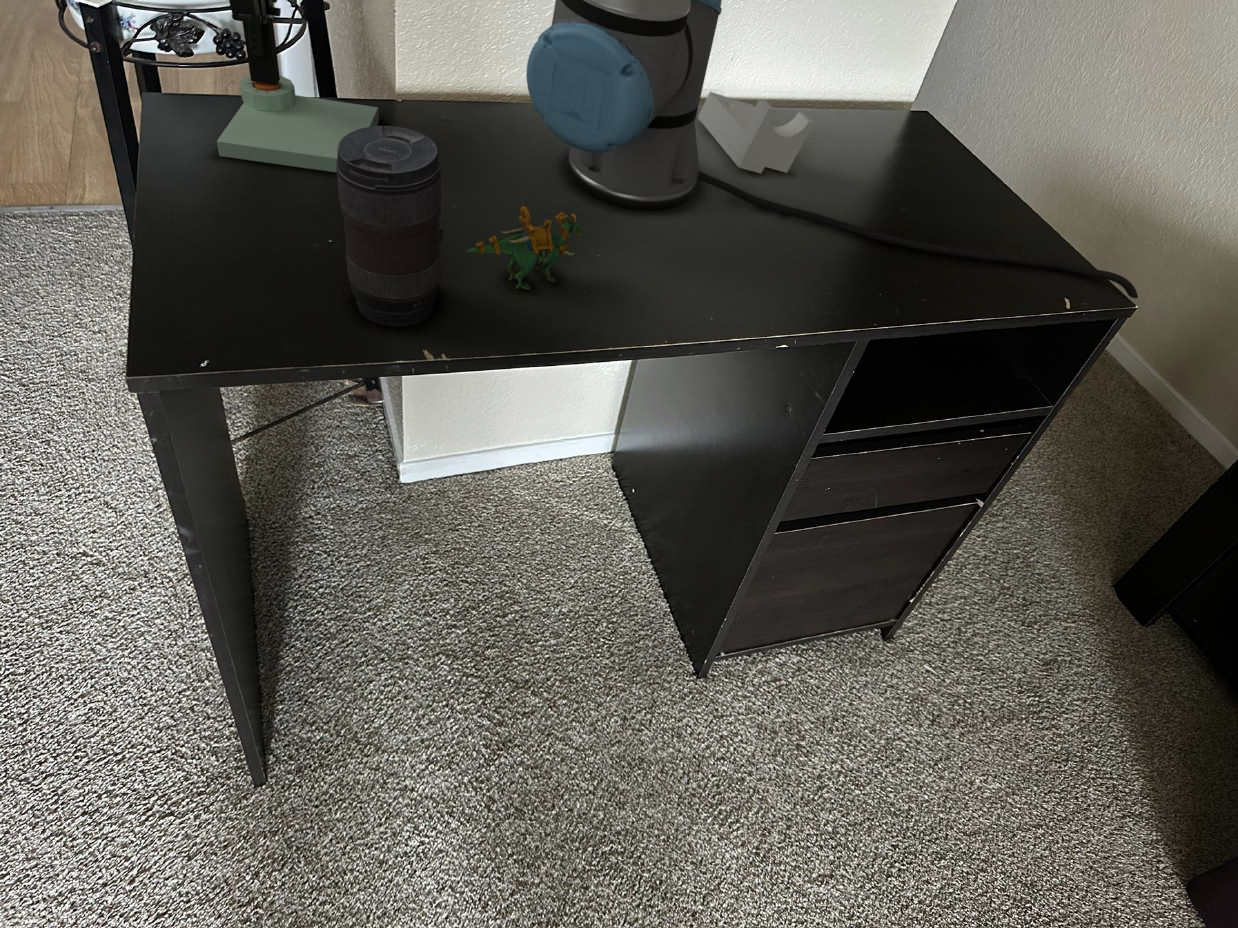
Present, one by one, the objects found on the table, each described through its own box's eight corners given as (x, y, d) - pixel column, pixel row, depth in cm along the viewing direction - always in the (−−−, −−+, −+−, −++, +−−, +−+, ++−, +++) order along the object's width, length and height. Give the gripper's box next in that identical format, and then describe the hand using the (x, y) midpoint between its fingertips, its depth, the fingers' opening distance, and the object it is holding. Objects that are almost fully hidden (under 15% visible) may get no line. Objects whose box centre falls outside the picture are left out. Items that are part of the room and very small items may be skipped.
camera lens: (366, 270, 81) (355, 114, 70) (450, 288, 81) (453, 135, 71) (334, 320, 75) (317, 159, 65) (425, 339, 76) (424, 181, 65)
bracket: (783, 179, 109) (814, 123, 104) (738, 167, 105) (769, 108, 101) (740, 130, 117) (768, 76, 112) (697, 117, 113) (724, 61, 109)
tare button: (283, 93, 98) (282, 79, 97) (277, 103, 96) (275, 89, 95) (260, 90, 98) (258, 76, 97) (253, 100, 96) (251, 86, 95)
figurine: (583, 279, 86) (594, 205, 80) (472, 304, 80) (475, 226, 74) (568, 262, 87) (577, 188, 81) (458, 285, 82) (460, 208, 76)
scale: (379, 119, 102) (378, 90, 99) (355, 175, 92) (353, 144, 90) (253, 101, 100) (249, 70, 98) (215, 156, 91) (209, 123, 88)
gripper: (211, -200, 83) (248, 51, 100) (161, -171, 74) (210, 100, 91) (292, -185, 84) (314, 62, 101) (252, -155, 75) (284, 111, 92)
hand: (265, 80), depth 96 cm, fingers closed
